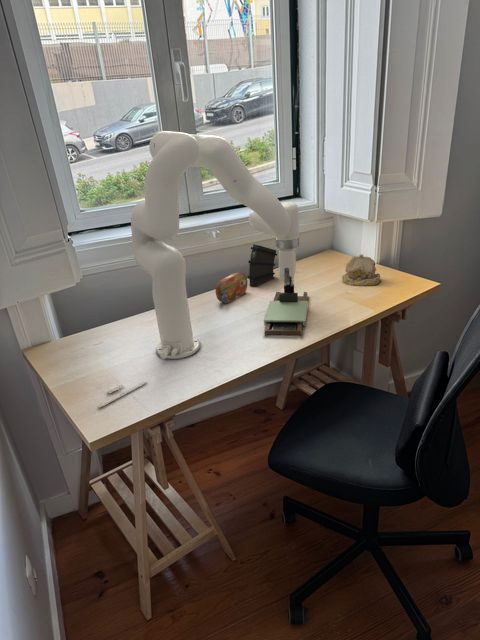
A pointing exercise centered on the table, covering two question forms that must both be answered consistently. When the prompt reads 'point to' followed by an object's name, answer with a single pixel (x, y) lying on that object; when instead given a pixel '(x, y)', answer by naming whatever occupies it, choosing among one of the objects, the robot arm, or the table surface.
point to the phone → (284, 326)
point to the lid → (287, 309)
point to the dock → (285, 332)
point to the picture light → (120, 392)
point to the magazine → (261, 264)
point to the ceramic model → (361, 271)
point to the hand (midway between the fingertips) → (289, 295)
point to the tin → (231, 287)
